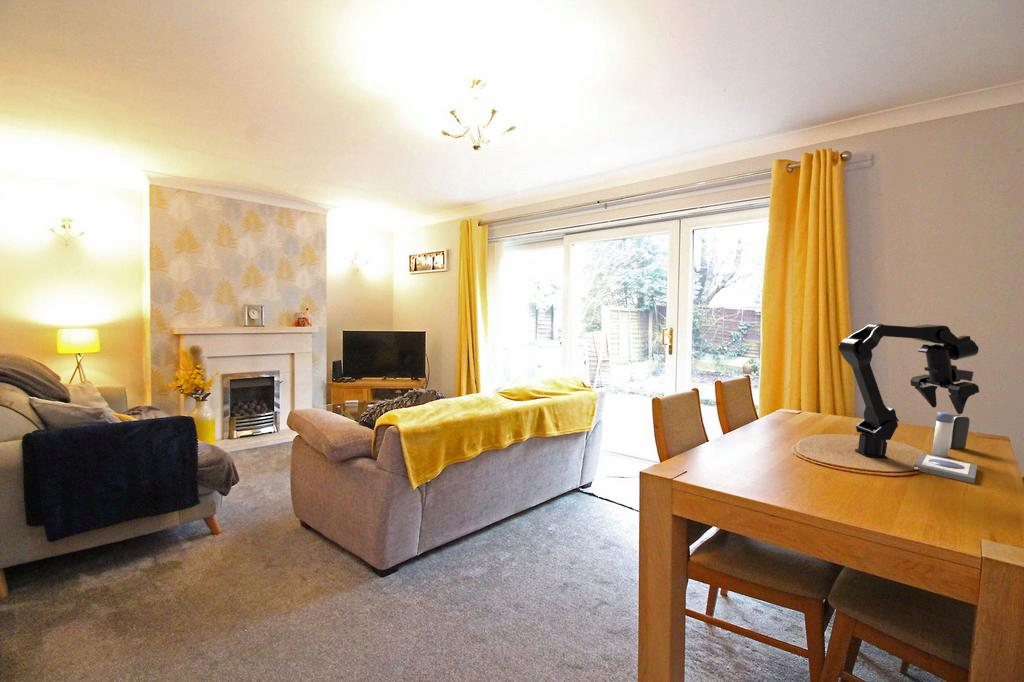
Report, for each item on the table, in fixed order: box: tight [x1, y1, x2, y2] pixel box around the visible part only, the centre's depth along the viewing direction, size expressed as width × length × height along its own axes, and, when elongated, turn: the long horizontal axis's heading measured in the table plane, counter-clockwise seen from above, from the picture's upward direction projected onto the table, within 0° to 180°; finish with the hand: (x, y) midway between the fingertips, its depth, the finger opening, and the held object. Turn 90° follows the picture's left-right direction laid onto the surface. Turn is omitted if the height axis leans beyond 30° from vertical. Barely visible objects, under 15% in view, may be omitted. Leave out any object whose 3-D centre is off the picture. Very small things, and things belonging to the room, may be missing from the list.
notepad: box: [913, 452, 978, 485], centre depth 143 cm, size 18×13×2 cm
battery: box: [949, 414, 970, 449], centre depth 168 cm, size 7×4×11 cm, turn 105°
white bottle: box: [931, 411, 955, 458], centre depth 157 cm, size 4×4×14 cm
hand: (946, 410), depth 153 cm, fingers open, 9 cm apart
